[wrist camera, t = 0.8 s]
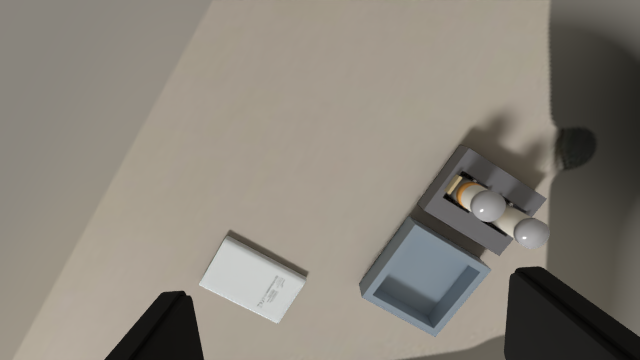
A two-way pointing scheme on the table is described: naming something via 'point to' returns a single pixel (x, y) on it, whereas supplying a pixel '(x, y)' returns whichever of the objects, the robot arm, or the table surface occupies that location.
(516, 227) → the fuse
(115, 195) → the table surface
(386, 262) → the tray
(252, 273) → the external hard drive
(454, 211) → the fuse holder
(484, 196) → the marked fuse
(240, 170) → the table surface
